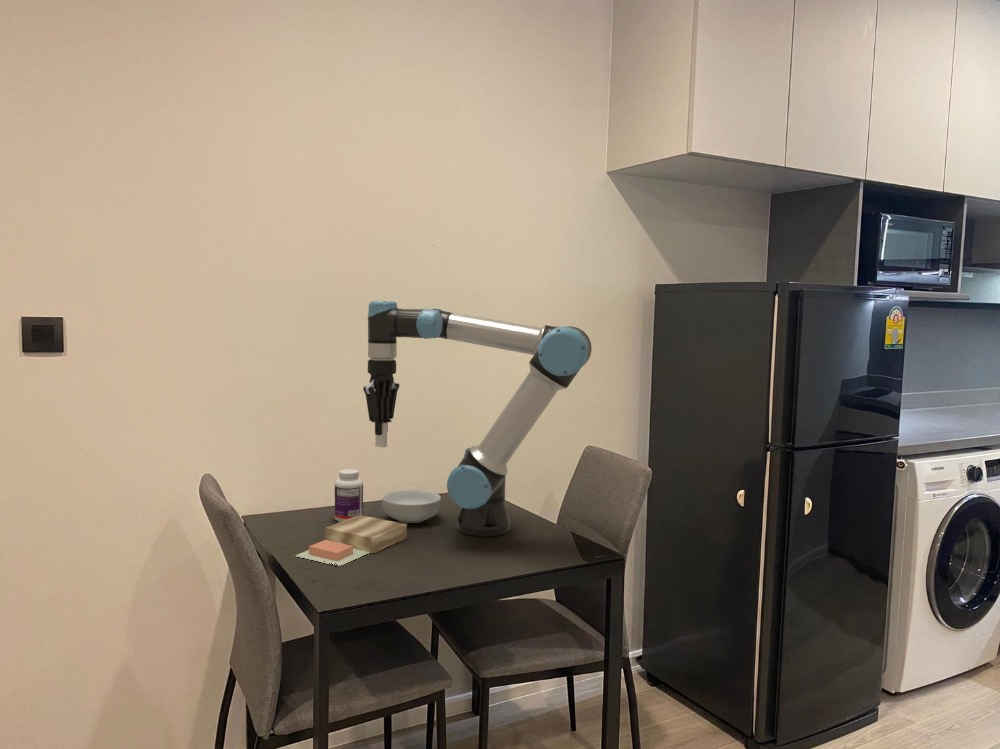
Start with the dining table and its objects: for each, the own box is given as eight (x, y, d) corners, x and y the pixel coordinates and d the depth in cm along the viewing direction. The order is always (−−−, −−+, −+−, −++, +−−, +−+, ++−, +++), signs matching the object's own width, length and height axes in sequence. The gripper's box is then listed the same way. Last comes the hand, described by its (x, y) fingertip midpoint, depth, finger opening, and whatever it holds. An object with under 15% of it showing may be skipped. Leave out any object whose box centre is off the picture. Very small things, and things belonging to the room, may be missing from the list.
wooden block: (406, 538, 194) (406, 524, 194) (373, 553, 182) (374, 538, 181) (359, 528, 202) (359, 514, 201) (325, 542, 189) (325, 527, 189)
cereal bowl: (385, 530, 201) (386, 505, 200) (378, 513, 217) (378, 490, 216) (445, 526, 206) (446, 502, 205) (434, 510, 222) (434, 487, 221)
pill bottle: (344, 514, 215) (344, 466, 213) (368, 517, 212) (368, 469, 211) (329, 522, 207) (329, 472, 206) (353, 525, 205) (353, 475, 203)
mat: (370, 553, 182) (370, 552, 182) (338, 567, 172) (338, 566, 172) (327, 543, 189) (327, 542, 189) (294, 556, 178) (294, 555, 178)
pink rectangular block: (336, 553, 175) (336, 561, 175) (353, 546, 180) (353, 553, 181) (308, 546, 179) (308, 554, 180) (325, 539, 185) (325, 547, 185)
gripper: (385, 357, 200) (384, 441, 202) (355, 359, 188) (354, 448, 191) (408, 358, 196) (406, 444, 199) (378, 361, 185) (377, 452, 187)
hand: (381, 446), depth 195 cm, fingers closed
